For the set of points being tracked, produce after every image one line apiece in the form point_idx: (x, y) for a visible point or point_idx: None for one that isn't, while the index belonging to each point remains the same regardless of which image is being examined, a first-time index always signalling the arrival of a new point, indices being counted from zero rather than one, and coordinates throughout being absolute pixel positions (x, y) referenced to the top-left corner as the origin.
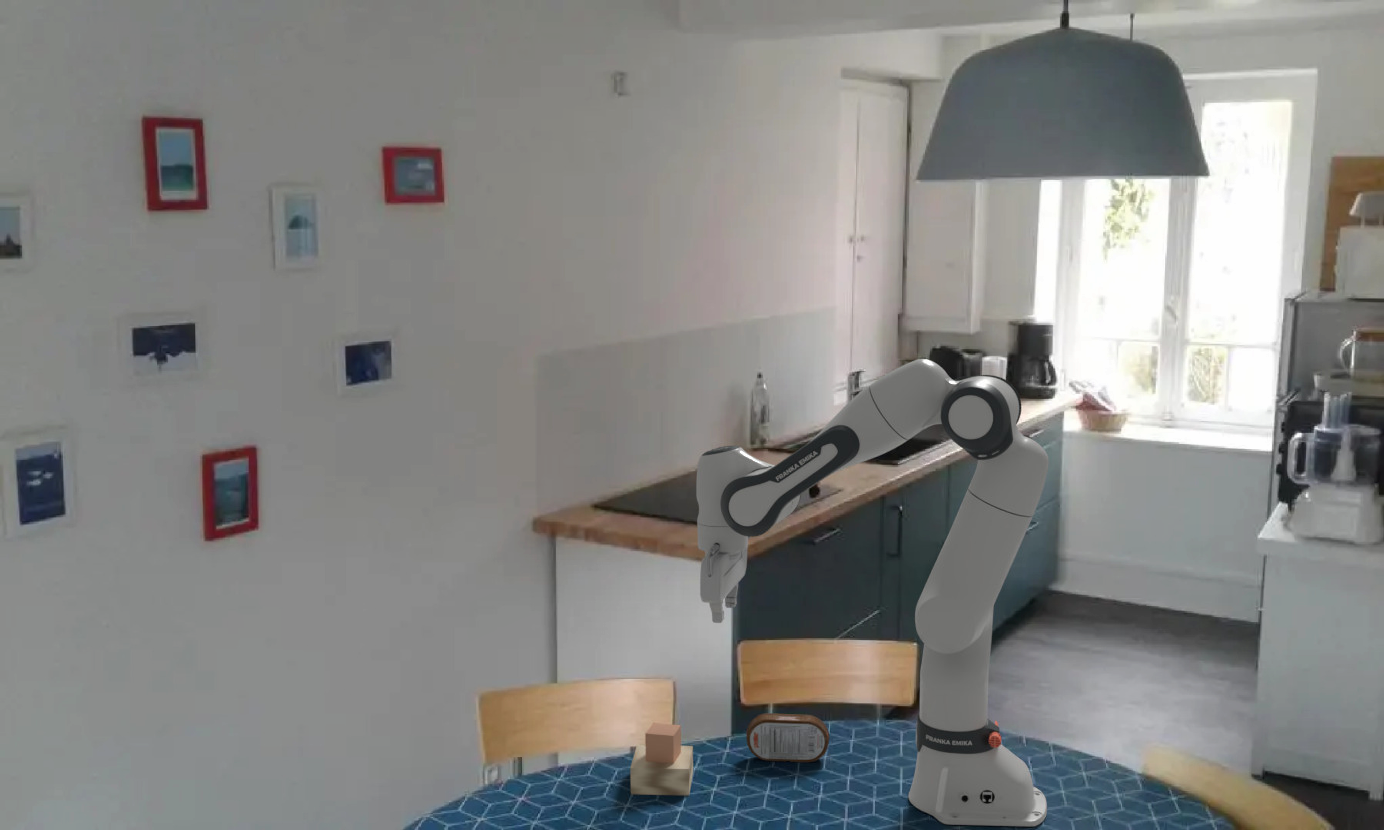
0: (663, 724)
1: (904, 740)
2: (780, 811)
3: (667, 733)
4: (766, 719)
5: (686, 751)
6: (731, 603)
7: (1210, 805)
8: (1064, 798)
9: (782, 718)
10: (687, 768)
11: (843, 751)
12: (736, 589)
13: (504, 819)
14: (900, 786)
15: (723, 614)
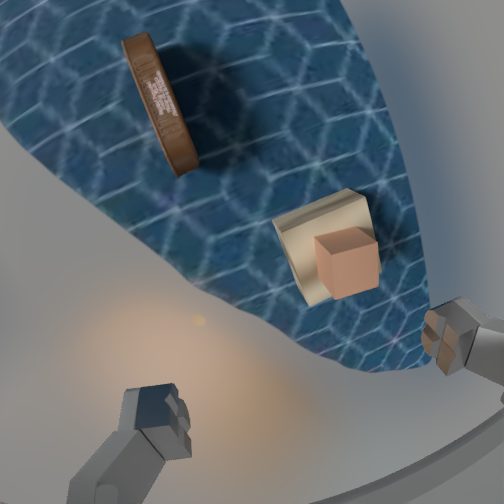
0: (337, 282)
1: (33, 4)
2: (345, 55)
3: (371, 256)
4: (185, 131)
5: (307, 231)
6: (174, 410)
7: None
8: None
9: (166, 103)
10: (364, 199)
11: (97, 46)
12: (109, 470)
13: None
14: None
15: (460, 320)
